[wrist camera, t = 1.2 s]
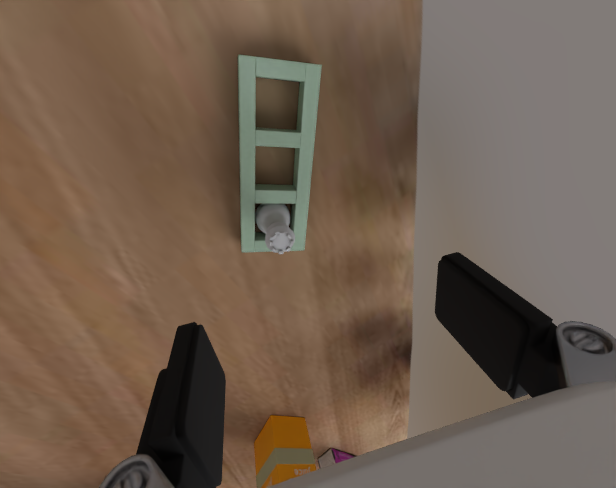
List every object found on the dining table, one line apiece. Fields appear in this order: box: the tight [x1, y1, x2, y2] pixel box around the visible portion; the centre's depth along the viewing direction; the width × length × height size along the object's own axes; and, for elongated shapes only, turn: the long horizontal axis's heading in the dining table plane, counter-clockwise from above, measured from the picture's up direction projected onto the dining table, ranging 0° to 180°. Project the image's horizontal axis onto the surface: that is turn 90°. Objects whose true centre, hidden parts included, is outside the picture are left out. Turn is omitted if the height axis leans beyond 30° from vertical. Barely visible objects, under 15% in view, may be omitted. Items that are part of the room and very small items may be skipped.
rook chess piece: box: [255, 203, 295, 254], centre depth 34 cm, size 4×4×8 cm
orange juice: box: [254, 415, 316, 488], centre depth 51 cm, size 8×9×20 cm
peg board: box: [238, 54, 322, 252], centre depth 33 cm, size 8×21×2 cm, turn 175°
